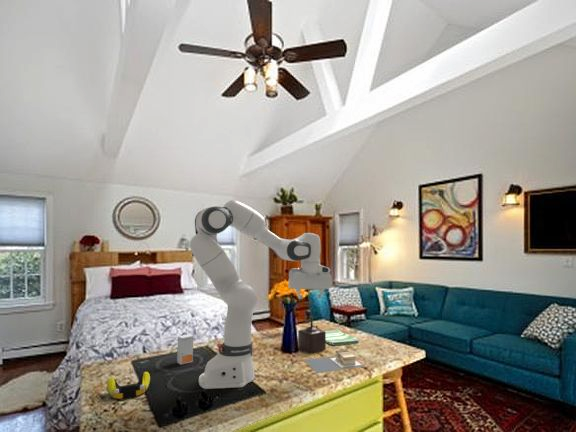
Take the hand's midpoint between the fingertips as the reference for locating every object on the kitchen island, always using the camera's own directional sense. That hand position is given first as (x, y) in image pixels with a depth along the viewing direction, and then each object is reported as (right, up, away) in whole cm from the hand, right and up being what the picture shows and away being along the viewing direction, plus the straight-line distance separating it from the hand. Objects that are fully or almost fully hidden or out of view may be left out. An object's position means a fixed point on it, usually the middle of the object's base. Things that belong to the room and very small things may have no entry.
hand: (309, 298), depth 160 cm
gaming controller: (-69, -28, -30) cm, 80 cm away
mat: (+11, -29, -1) cm, 31 cm away
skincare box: (-57, -30, +1) cm, 65 cm away
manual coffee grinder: (+1, -31, +22) cm, 38 cm away
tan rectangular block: (+16, -29, +1) cm, 33 cm away
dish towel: (+17, -32, +38) cm, 53 cm away
